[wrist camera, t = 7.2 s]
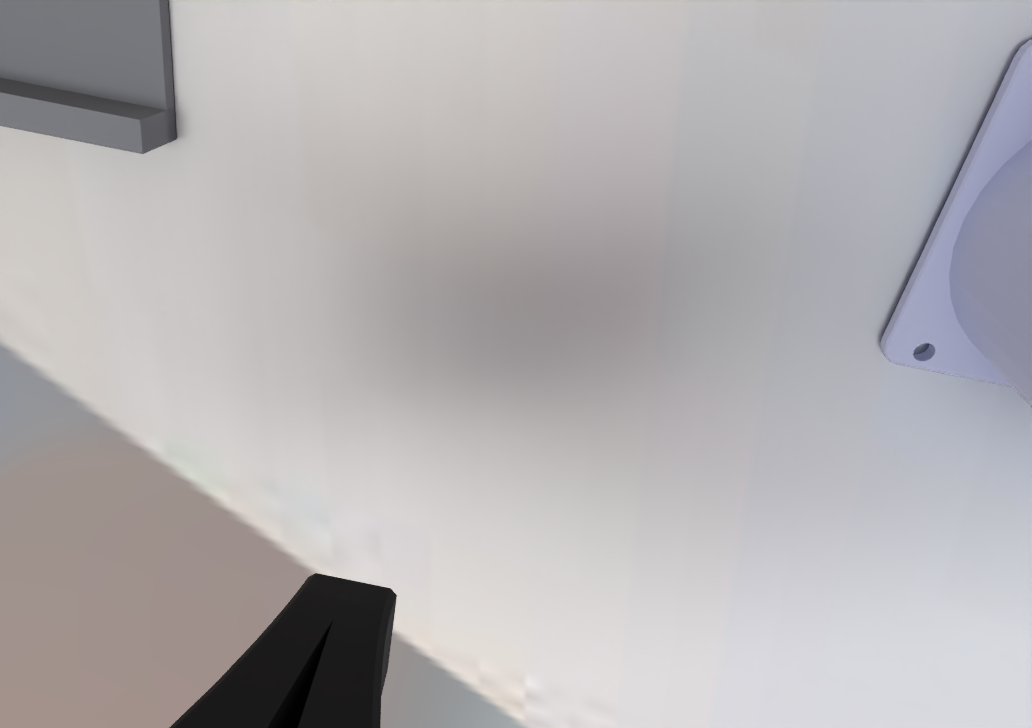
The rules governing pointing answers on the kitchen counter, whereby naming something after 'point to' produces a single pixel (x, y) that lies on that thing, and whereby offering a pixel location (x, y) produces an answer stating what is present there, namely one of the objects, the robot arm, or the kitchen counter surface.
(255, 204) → the kitchen counter surface
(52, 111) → the gray tray
